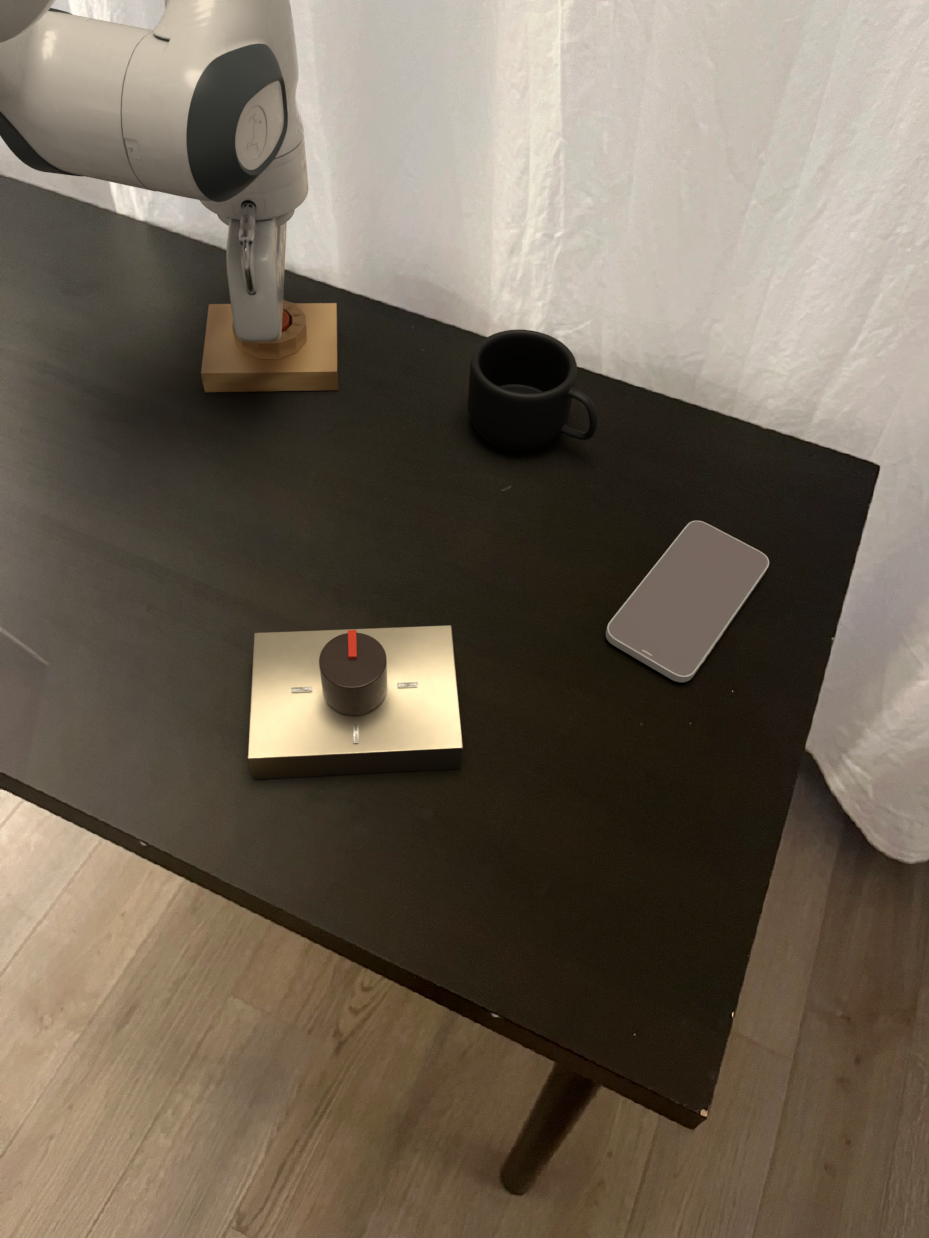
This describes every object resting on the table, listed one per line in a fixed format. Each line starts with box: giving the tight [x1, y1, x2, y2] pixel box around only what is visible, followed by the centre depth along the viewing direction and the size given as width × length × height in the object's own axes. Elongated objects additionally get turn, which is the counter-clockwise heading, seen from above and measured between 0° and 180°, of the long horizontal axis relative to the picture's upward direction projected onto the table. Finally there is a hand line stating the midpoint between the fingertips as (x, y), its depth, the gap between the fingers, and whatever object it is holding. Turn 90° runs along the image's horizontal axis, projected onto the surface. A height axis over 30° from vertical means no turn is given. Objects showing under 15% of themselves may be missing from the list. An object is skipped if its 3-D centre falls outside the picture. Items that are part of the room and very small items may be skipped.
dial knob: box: [319, 630, 387, 715], centre depth 64 cm, size 4×4×4 cm
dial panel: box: [247, 624, 464, 780], centre depth 66 cm, size 14×10×3 cm
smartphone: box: [605, 520, 770, 683], centre depth 75 cm, size 7×1×15 cm
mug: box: [467, 329, 598, 451], centre depth 83 cm, size 12×9×7 cm
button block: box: [200, 299, 339, 393], centre depth 88 cm, size 12×10×4 cm
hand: (270, 318), depth 86 cm, fingers closed, pressing on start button
